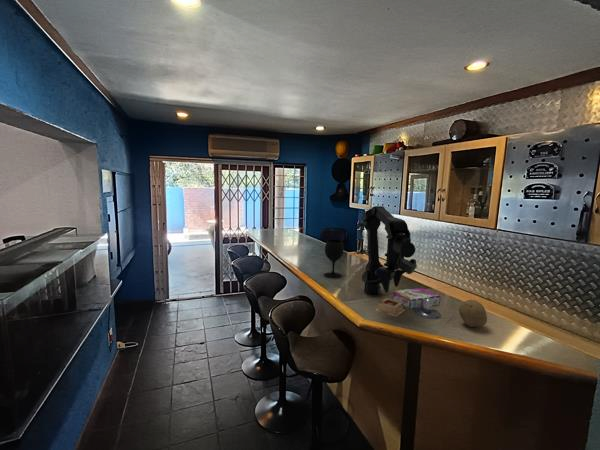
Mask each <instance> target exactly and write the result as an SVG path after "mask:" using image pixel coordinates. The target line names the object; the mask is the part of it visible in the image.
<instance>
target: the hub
mask: <svg viewBox="0 0 600 450" xmlns="http://www.w3.org/2000/svg"><path fill="white" fill-rule="evenodd" d="M413 313H414V314H415V315H416V316H417V317H418V316H419V317H421V318H423V319H428V320H436V319H437V320H438V319H440V318H441V317H442V314H441V312H440V311H438V310H437V309H434V308H433V305H432V302H431V300H430V299H425V301H424V302H423V307H416V308H413Z"/></svg>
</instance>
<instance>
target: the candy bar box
mask: <svg viewBox="0 0 600 450" xmlns="http://www.w3.org/2000/svg"><path fill="white" fill-rule="evenodd" d="M392 297H393V298H392V300H395V301H399V302H402V303H403V307H406V308H408V309H409V310H410V309H414V308H416V307H423V302H424V301H425V299H430V300H431V302H432V306H440V304H441V297H442V296H441V295H439V294H436V293H435V292H433V291H430V290H429V289H426V288H424V287H415V288H409V289H399V290H398V289H397V290H393V296H392Z"/></svg>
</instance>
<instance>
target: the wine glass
mask: <svg viewBox="0 0 600 450" xmlns="http://www.w3.org/2000/svg"><path fill="white" fill-rule="evenodd" d="M324 253H325V255H326V258H327V259H328V260H329V261H331V263H332V267H331V268H332V270H331V272H324V274H323V276H324V277H325V278H329V279H341V278H343V274H341V273H338V272H335V263H336V262H338V261H339V260H340V259H341V258H342V256H343V254H344V242H343V240H339V239H327V240H326V242H325V246H324Z"/></svg>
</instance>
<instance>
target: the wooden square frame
mask: <svg viewBox="0 0 600 450" xmlns="http://www.w3.org/2000/svg"><path fill="white" fill-rule="evenodd" d="M387 303H393V304H394V306H392V305H388V304H387ZM377 308H378V310H380V311H383V312H386V313H389V314H392V315H396V314H398V313H399V312H400V311H402V310H403V309H404V305H403V303H402V302H399V301H395V300H394V299H393V298H389V297H385V298H384V299H382V300H380V301H379V302H377ZM380 311H379V312H380ZM383 312H382V313H383ZM386 313H385V314H386ZM389 314H388V315H389ZM392 315H391V316H392Z"/></svg>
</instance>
